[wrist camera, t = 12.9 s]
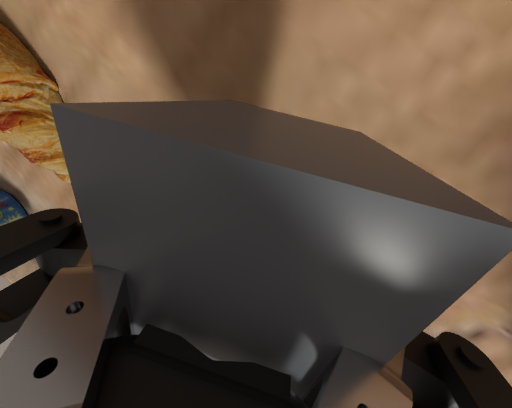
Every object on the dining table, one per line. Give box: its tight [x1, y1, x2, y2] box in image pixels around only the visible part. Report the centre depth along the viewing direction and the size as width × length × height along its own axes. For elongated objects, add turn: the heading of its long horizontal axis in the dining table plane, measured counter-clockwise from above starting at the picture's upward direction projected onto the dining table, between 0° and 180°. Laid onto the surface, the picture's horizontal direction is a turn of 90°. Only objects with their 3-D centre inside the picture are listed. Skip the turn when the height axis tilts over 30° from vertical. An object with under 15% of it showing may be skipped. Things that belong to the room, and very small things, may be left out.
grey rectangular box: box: [50, 100, 512, 399], centre depth 9 cm, size 6×10×8 cm, turn 168°
